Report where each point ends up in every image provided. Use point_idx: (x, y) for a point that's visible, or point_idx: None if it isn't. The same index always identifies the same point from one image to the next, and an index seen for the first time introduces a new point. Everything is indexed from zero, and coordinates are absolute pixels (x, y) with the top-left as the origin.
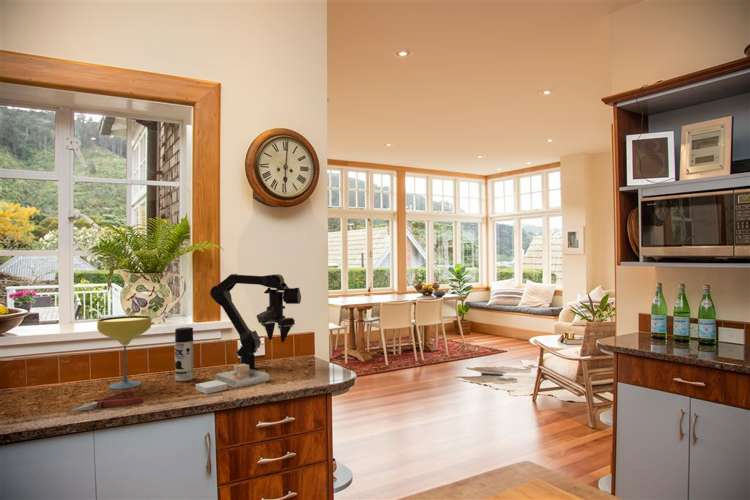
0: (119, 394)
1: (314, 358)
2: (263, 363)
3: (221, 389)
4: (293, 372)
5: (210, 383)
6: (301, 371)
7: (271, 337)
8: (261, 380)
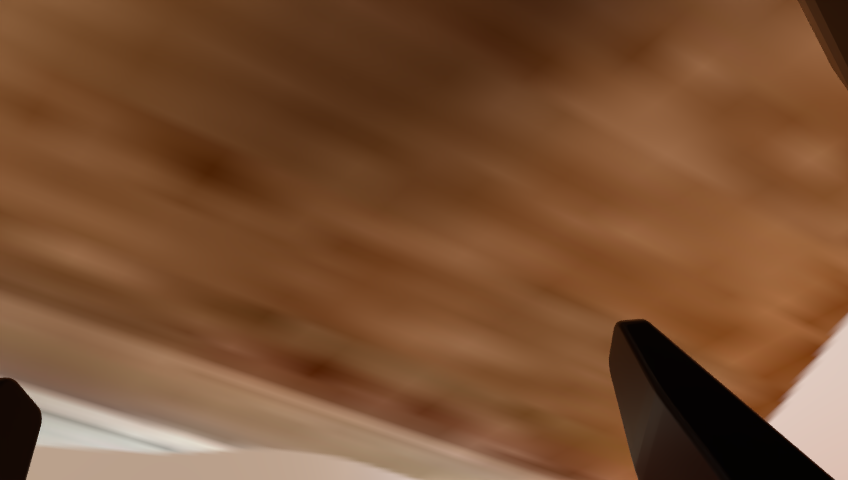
0: None
1: (524, 466)
2: (797, 103)
3: None
4: (73, 137)
5: None
6: (87, 218)
7: (628, 413)
8: None
